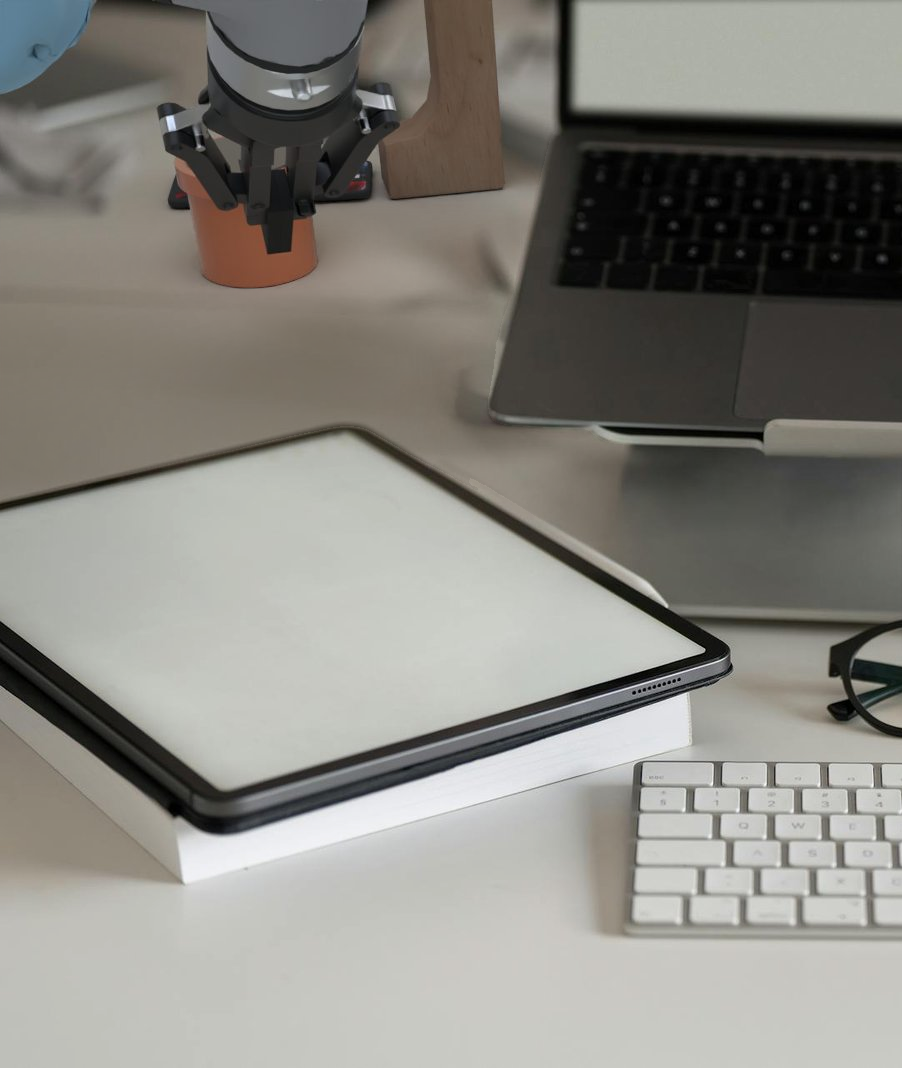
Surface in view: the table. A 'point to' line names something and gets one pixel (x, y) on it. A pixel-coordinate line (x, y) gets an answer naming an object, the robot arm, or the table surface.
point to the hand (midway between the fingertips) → (274, 233)
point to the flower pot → (242, 234)
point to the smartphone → (355, 191)
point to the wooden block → (451, 110)
